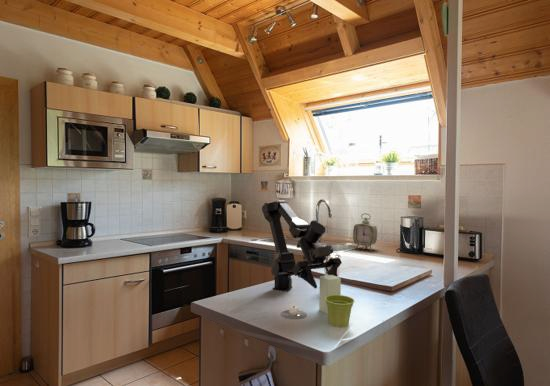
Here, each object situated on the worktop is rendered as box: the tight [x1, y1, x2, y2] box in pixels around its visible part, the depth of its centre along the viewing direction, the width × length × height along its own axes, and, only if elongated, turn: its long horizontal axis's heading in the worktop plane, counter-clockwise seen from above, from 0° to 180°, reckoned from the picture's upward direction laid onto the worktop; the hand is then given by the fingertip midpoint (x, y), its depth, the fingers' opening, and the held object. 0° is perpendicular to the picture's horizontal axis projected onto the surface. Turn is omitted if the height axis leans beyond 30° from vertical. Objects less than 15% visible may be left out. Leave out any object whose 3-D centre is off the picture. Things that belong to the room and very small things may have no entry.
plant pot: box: [325, 294, 355, 328], centre depth 122 cm, size 9×9×9 cm
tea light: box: [288, 305, 299, 316], centre depth 129 cm, size 3×3×3 cm
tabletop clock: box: [352, 213, 378, 252], centre depth 262 cm, size 14×9×25 cm, turn 53°
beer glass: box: [323, 253, 342, 278], centre depth 162 cm, size 7×7×15 cm
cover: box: [318, 275, 342, 315], centre depth 133 cm, size 5×5×12 cm
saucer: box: [280, 309, 308, 320], centre depth 129 cm, size 9×9×1 cm
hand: (327, 286), depth 135 cm, fingers open, 9 cm apart
